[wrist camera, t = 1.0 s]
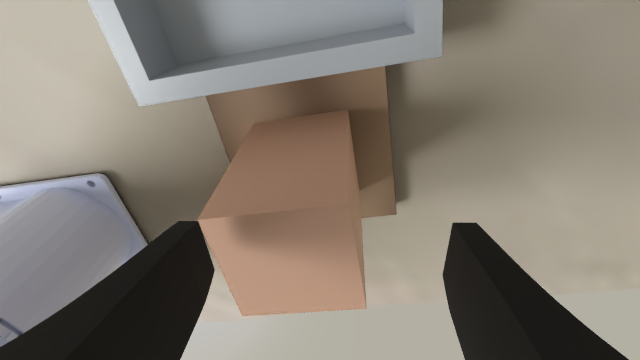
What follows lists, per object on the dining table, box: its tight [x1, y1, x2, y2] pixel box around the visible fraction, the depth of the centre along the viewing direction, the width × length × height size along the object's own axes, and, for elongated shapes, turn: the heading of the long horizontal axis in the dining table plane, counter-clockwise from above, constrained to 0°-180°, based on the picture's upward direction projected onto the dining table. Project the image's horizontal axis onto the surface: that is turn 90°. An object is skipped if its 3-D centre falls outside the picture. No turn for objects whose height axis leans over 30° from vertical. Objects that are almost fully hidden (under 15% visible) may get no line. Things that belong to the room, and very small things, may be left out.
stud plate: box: [206, 66, 396, 218], centre depth 18 cm, size 9×9×4 cm
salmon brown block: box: [197, 110, 366, 316], centre depth 15 cm, size 5×5×8 cm
